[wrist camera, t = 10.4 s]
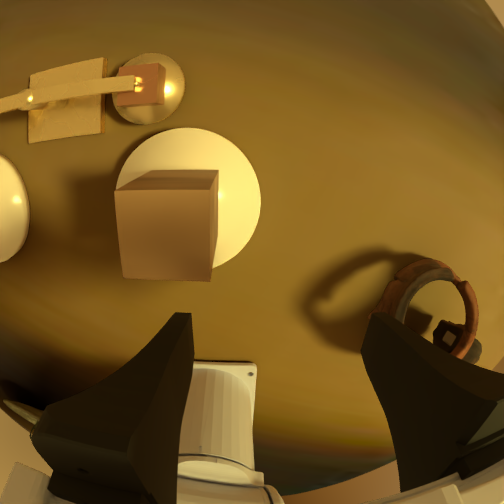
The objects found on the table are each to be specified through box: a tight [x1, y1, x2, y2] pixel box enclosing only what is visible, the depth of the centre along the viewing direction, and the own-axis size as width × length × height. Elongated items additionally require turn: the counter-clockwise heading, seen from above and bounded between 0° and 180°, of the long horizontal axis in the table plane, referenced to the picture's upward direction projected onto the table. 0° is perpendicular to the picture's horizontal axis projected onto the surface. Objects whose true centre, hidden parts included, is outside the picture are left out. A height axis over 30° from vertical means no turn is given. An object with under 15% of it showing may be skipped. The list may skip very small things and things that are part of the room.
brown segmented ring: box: [367, 258, 482, 364], centre depth 21 cm, size 12×10×8 cm
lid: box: [3, 399, 44, 441], centre depth 25 cm, size 11×10×5 cm
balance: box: [0, 53, 186, 143], centre depth 13 cm, size 5×17×6 cm, turn 87°
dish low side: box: [116, 128, 261, 268], centre depth 19 cm, size 9×9×1 cm
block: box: [114, 170, 219, 282], centre depth 15 cm, size 4×4×6 cm
